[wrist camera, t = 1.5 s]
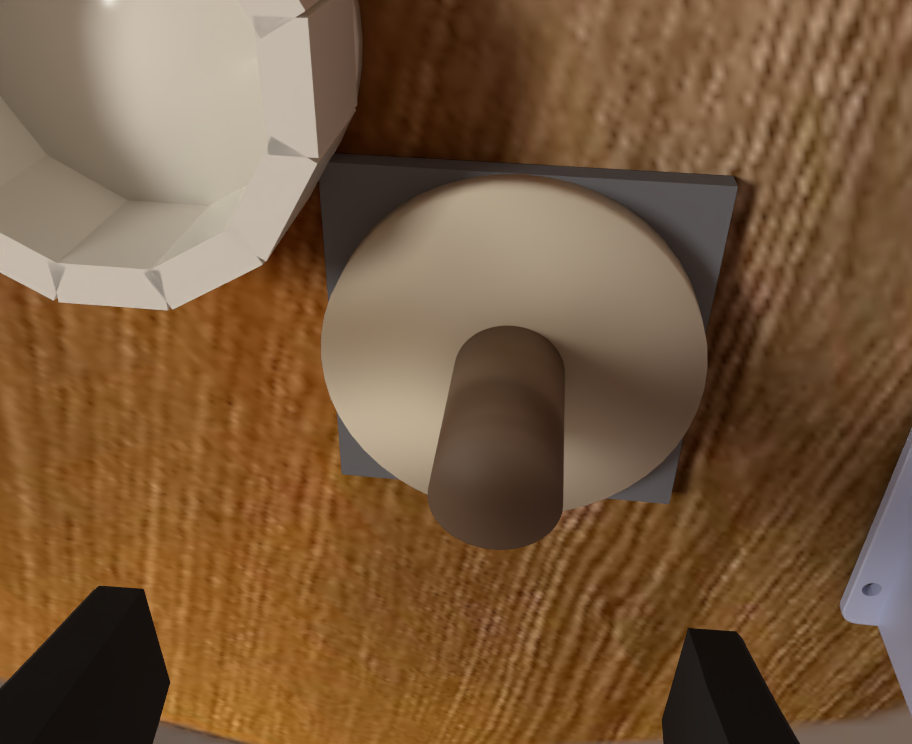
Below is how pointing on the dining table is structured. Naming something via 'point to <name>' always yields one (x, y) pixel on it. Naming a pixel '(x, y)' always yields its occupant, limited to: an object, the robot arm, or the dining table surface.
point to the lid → (514, 351)
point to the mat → (643, 192)
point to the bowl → (164, 138)
